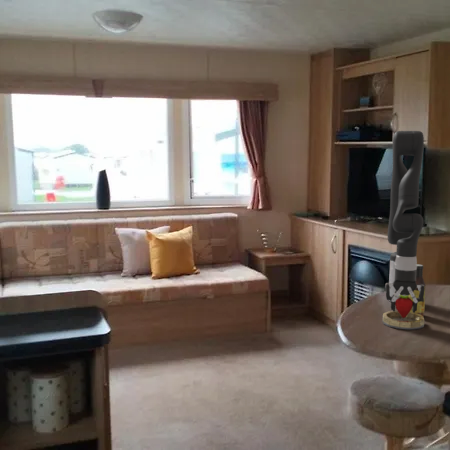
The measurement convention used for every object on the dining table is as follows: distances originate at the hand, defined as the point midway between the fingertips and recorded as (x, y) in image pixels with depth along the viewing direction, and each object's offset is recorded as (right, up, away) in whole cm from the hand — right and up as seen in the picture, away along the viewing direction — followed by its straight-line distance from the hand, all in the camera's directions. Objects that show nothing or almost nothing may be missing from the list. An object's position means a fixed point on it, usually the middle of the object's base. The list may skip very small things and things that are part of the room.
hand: (403, 311), depth 217 cm
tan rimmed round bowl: (0, -5, +1) cm, 5 cm away
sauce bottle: (+8, -3, +11) cm, 14 cm away
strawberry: (0, -3, 0) cm, 3 cm away
